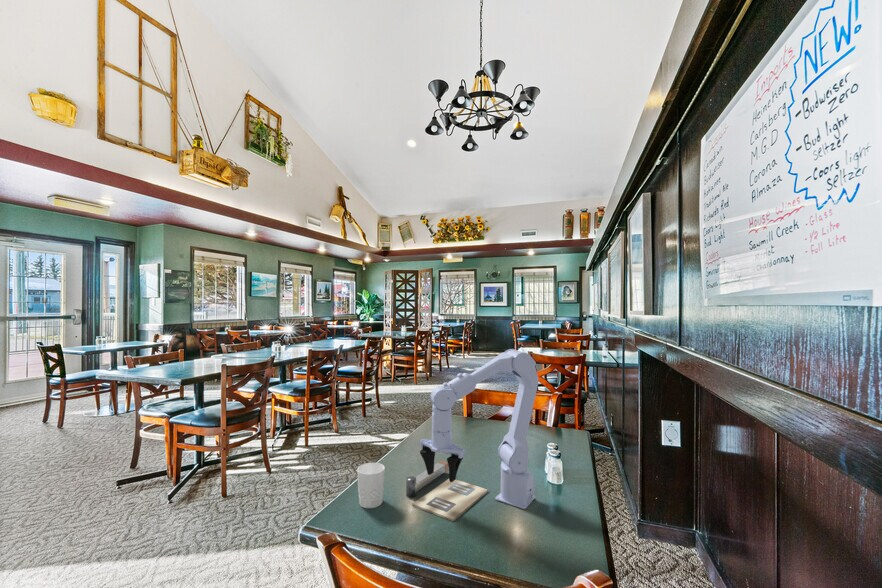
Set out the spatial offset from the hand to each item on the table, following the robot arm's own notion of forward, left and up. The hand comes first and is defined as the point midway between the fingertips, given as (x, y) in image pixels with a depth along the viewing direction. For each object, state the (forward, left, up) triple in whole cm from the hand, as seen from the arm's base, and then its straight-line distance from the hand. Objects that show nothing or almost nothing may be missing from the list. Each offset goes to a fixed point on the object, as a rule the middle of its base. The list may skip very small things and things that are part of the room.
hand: (441, 477), depth 113 cm
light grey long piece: (+11, -9, -8) cm, 17 cm away
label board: (0, -6, -8) cm, 10 cm away
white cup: (+18, +10, -9) cm, 22 cm away
